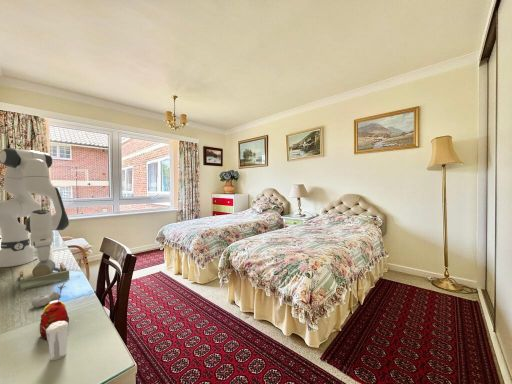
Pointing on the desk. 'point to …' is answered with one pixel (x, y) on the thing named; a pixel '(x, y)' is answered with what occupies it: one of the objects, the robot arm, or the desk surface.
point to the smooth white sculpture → (44, 299)
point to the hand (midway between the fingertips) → (43, 265)
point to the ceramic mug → (44, 268)
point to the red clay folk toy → (53, 315)
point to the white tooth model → (57, 339)
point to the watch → (51, 303)
